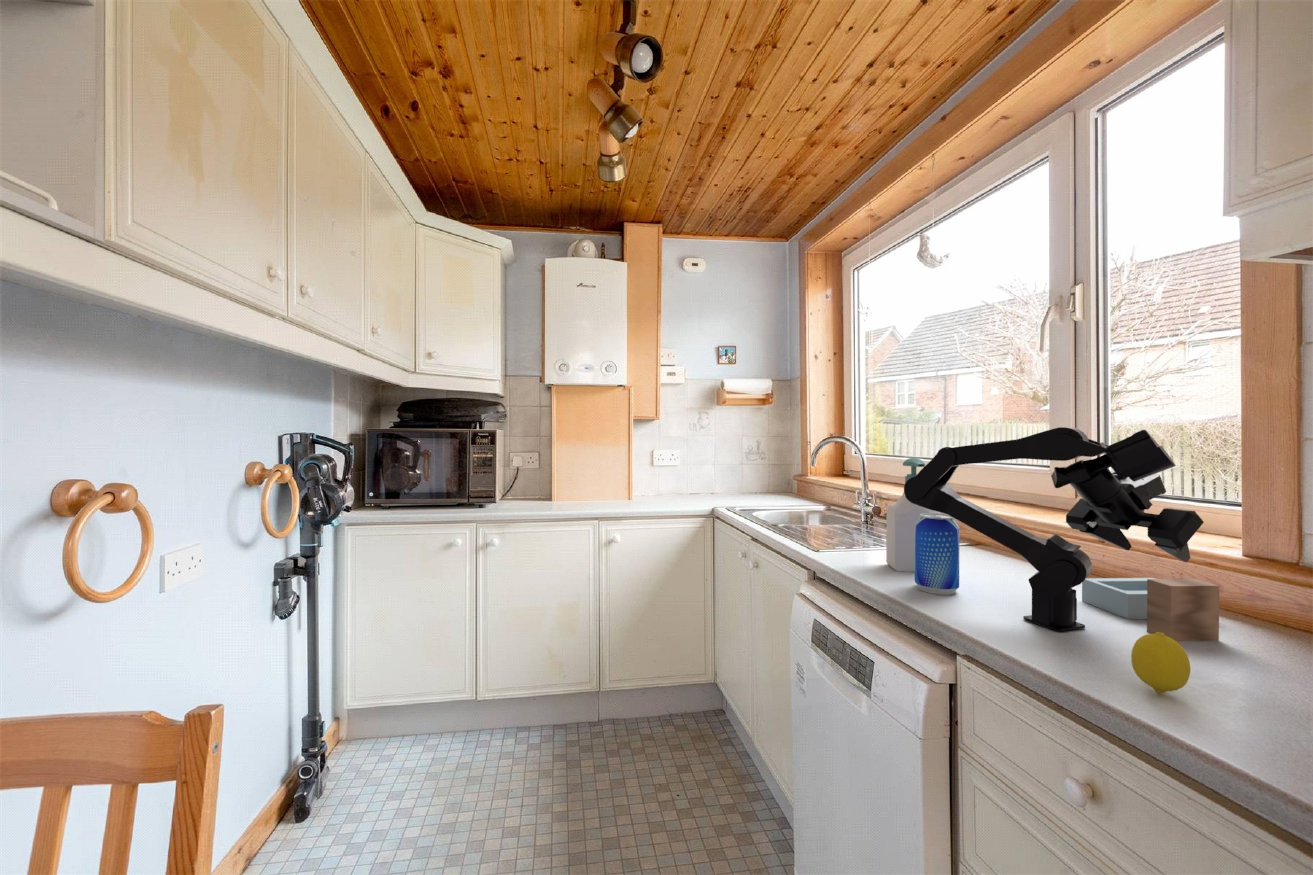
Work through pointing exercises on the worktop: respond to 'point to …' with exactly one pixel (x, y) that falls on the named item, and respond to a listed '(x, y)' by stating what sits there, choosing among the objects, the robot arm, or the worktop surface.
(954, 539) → the beer can
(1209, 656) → the worktop surface
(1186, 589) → the brown rectangular block
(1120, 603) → the light blue tray
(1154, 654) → the lemon
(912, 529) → the soap bottle
